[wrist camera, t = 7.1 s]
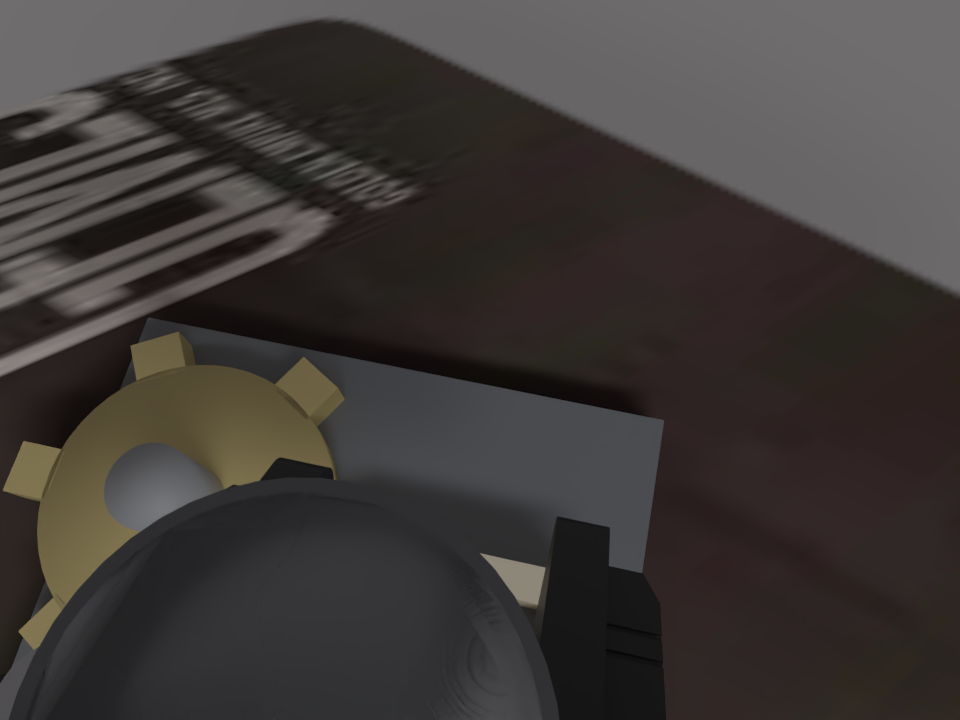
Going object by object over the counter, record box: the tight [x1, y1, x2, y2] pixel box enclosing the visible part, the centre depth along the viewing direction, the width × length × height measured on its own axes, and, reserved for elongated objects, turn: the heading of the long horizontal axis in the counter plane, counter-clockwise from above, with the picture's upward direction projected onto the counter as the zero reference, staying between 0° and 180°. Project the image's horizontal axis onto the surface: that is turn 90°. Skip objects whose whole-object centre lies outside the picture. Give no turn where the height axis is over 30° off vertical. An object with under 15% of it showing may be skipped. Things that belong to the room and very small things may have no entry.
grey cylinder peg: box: [9, 478, 559, 720], centre depth 10 cm, size 3×3×11 cm
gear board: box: [3, 317, 664, 667], centre depth 24 cm, size 20×14×6 cm
